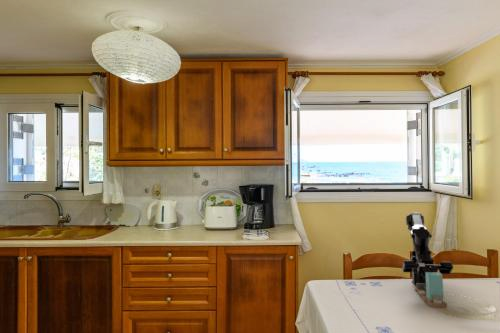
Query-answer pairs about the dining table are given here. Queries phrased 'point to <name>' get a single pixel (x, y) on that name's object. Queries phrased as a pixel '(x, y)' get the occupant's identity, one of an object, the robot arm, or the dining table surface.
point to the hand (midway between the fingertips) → (431, 285)
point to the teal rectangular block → (434, 285)
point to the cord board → (421, 292)
